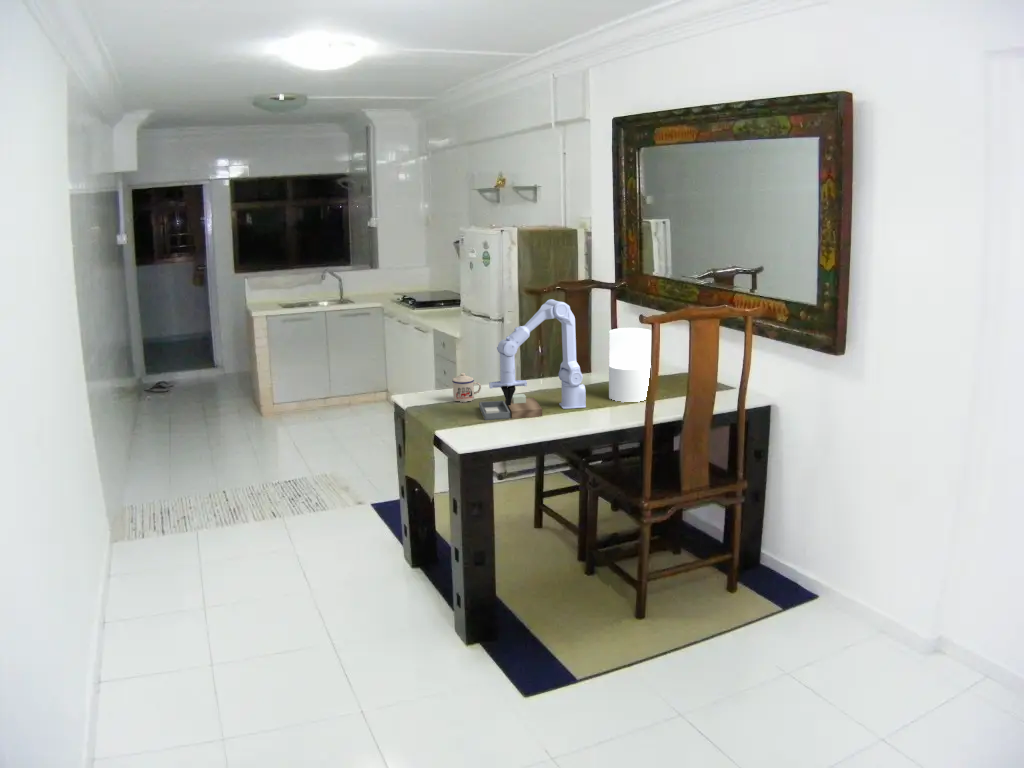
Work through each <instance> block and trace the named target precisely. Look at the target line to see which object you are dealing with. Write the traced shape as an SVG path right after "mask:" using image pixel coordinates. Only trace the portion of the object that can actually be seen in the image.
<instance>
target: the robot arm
mask: <svg viewBox="0 0 1024 768" xmlns="http://www.w3.org/2000/svg"><path fill="white" fill-rule="evenodd" d="M552 319H553V320H554V319H557V321H559V322H560V323H561V343H562V344H561V345H562V346H561V347H562V348H561V349H562V361H561V363H560V367H559V368H560V369H559V372H558V378H559V380H560V381H561V402H559V403H558V404H559V406H560V407H561V408H562V409H563V410H569V409H582V408H587V405H586V403H587V401H586V399H587V397H586V393H587V392H586V386H585V384H583V383H582V382H583V378H584V376H583V373H582V371H581V367H580V365H579V363H578V362H577V361H578V360H577V339H576V338H577V336H576V318H575V315H574V313H573V312H572V310H571V306H570V305H569V304H568V303H566V302H564V301H558V300H555V299H553V298H552V299H550V298H549V299H548V300H546V301H545V302H544V303H543V304H542V305H540V308H539V309H538V310H537V311H536V312H535V313H534V315H533V316H532V317H531V318H530V319H529V320H528V321H526V323H525V324H524V325H522V326H521V325H519V326H515V327H514V331H512V332H511V333H510V334H509V335H507V336H506V337H505V339H501V340H500V341H499V342H498V346H497V347H496V350H497V352H498V353H499V369H500V372H499V374H500V381H498V380H497V381H492V382H491V381H490V382H488V387H489V389H493V388H495V389H496V388H500V389H501V391H502V393H503V395H504V400H505V399H506V404H507V406H508V405H511V400H512V397H513V394H515V392H516V389H517V388H516V387H527V386H528V381H527V380H524V379H523V380H521V379H520V380H519V379H518V380H517V379H516V362H515V356H516V354H517V352H518V349H519V347H520V346H521V345H523V344H524V343H525V342H526V341H527V340H528V338H530V335H531V332H532V331H533V330H535V329H536V328H537V327H538V326H539V325H541V324H542V323H543V322H544V321H545V320H552ZM581 383H582V384H581Z"/></svg>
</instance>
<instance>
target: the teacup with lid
mask: <svg viewBox="0 0 1024 768" xmlns="http://www.w3.org/2000/svg"><path fill="white" fill-rule="evenodd" d="M474 385H478V386H479V387H478V390H477V391H475V389H474V388H475V387H474ZM452 389H453V390H452V394H453V396H452V397H453V401H454V400H455V401H460V402H459V403H462V402H463V403H467V402H466V401H471V402H473V401H474V400H475V395H477V394H479V393H480V392H481V390H482V384H480V382H477V381H475V379H474V377H472V376H469V375H466V373H465V372H461V373H460V374H459V375H457V376H456V377H453V378H452ZM472 400H473V401H472ZM455 401H454V402H455Z"/></svg>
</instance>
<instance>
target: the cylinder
mask: <svg viewBox="0 0 1024 768" xmlns="http://www.w3.org/2000/svg"><path fill="white" fill-rule="evenodd" d="M608 335H609V337H608V339H609V340H608V342H609V344H608V345H609V346H608V398H609V400H611V399H612V401H613V400H615V401H614V402H617V401H621V402H620V403H624V402H638V403H641V402H640V401H644V400H646V397H647V391H648V386H649V378H650V368H651V369H652V365H651V364H652V362H651V361H652V330H651V329H648V328H641V327H619V328H614V329H610V330H609V333H608ZM644 402H645V401H644Z"/></svg>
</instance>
